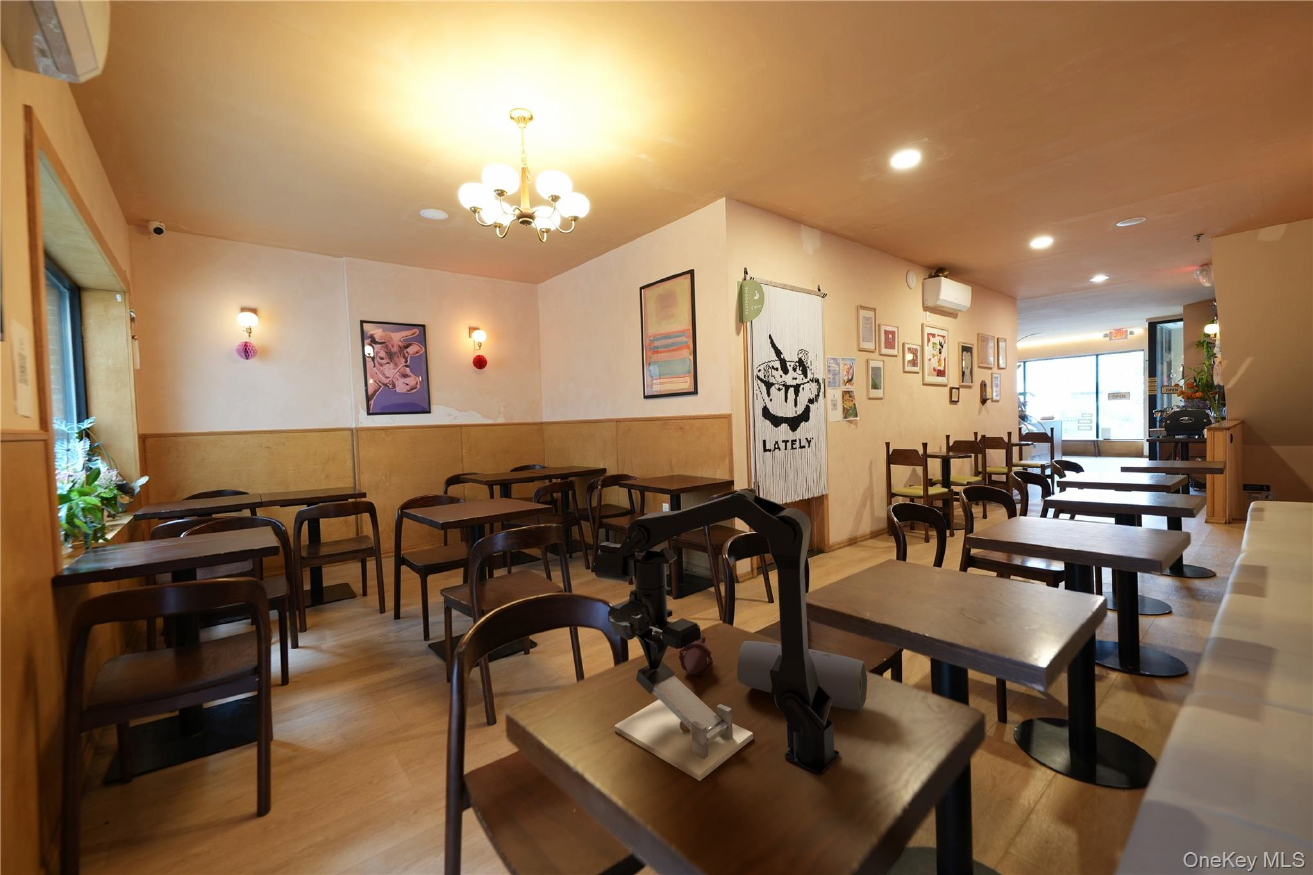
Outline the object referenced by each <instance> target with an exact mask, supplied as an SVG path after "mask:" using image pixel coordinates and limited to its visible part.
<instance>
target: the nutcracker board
mask: <svg viewBox="0 0 1313 875" xmlns="http://www.w3.org/2000/svg"><path fill="white" fill-rule="evenodd" d="M732 711H733V710H732V708H731V707H729V706H726V705H724V704H721V703H719V704H718V705H716V715H718V716H719V717H720V718H721V719H722V720H723V721H724V722H725V723H726V724H727V728H726V731H725V732H724V733H723V734H721V735H720V736H718V737H717V738H716V739H714V740H713V741H712V742H710V743H709V744H708V745H707V728H706V726H705V725H703V724H701V723H699V722H697V721H694V722H693V723H691V730H690V729H689V728H688V727H687V726H686V725H685V724H684V723H683V722H682V721H681V720H680V719H679V718H678V717H677V716H676V715H675V714H674V713H673V712H672V711H671V710H670V709H669V708H668V707H667V706H666V705H664V704H663V703H662V702H661V701H660V700H659V699H657V700H655V701H654V702H652V703H650V704H649V705H647V706H645V707H644V708H642V709H640V710H639V711H637V712H635V713H633V714H632V715H630V716H628V717H627V718H624V719H623V720H621V721H620V722H618V723H616V724H615V725H614V728H613V729H614V732H616V733H617V734H620V735H621V736H623V737H624V738H625V739H628V740H629V741H632V742H633V743H635V744H636V745H638V746H640V747H641V748H643V749H645V750H647V751H648V752H650V753H652V754H653V755H655V756H656V757H658V758H660V759H661V760H663V761H665V762H666V763H668V764H671V765H672V766H673V767H675V768H676V769H679V770H680V771H682V772H684V773H685V774H687V775H689V776H691V777H692V778H694V779H695V780H697V781H699V782H701V781H702V780H703V779H705V778H706V777H707V776H708V775H710V774H711V773H712V772H713V771H714V770H715V769H717V768H718V767H719V766H720V765H722V764H723V763H725V762H726V761H727V760H728V759H729V758H731V757H733V755H734V754H736V753H737V752H738V751H740V750H741V749H742V748H743V747H745V745H747V744H748V743H749V742H751V741H752V740H753V739H754V732H752V731H749V730H748V729H746V728H743V727H742V726H741V727H740V725H739V726H738V725H737V724H735V723H733V712H732Z"/></svg>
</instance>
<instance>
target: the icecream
mask: <svg viewBox="0 0 1313 875" xmlns="http://www.w3.org/2000/svg"><path fill="white" fill-rule="evenodd" d="M706 638H707V637H706V636H705V635H703V634H701V639H699V640H697V641H695V642H693V643H691V644H689V645H687V646H685V647H683V648H681V649H679V652H678V654H679V655H678V659H679V662H680V666H681V668H682V669H683V671H685V672H686V673H688V674H689V675H691V676H704V675H706V674H707V673H708V671H709V670H710V669H712V668H713V664H714V661H713V657H712V651H711V650H710V649H709V648H708V647H707V645H706V644H705V643H706Z"/></svg>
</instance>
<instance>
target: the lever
mask: <svg viewBox="0 0 1313 875" xmlns="http://www.w3.org/2000/svg"><path fill="white" fill-rule="evenodd" d="M675 675H676V674H675V671H674V670H673V669H671V667H669V665H667V664H666V662H664V661H663V660H662V661H661V663H660V666H659V668H658V669H656V670H654V669H653V668H650V667H649V665H648V664H647V665H645V666H644V667H642V668H639V669H638V670H637V672H636V677H635V681H636V682H637V683H638V684H639V685H640V686H641V687H642V688H643V689H644V690H646V692H647V693H649V695H652V694H653V695H654V696H655V697H656V698H657V700H660V701H661V702H662V703H663V704H664V705H666V706H667V707H668V708H669V709H670V710H671V711H672V712H673V713H674V714H675V715H676V716H677V717H678V718H679V719H680V720H681V721H682V722H683V723H684V724H685V725H686V726H687V727H688V728H689V729H690V730H691V723H693V722H694V721H697V722H699V723H701V724H703V725H705V726H706V728H707V745H708V744H709V743H710V742H712V741H713V740H714V739H716V738H717V737H718V736H720V735H721V734H723V733H724V732H725V731H726V728H727V724H726V723H725V722H724V721H723V720H722V719H721V718H720V717H719V716H718V715H717V713H716V712H714V711H713V710H712V709H711V708H710V707H709V706H708V705H707V704H706V703H705V702H703V700H701V699H700V698H699V697H698V696H697V695H696V694H695V693H694V692H693V691H692V690H691V689H690V688H689V687H687V686H686V684H684V683H683V682H682V681H681V680H680V679H678V677H677V676H675Z"/></svg>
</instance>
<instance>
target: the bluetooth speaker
mask: <svg viewBox="0 0 1313 875" xmlns="http://www.w3.org/2000/svg"><path fill="white" fill-rule="evenodd" d="M808 650H809V654H810V656H811V658H812V660H813V663H814V666H815V670H816V674H817V679H818V683H819V684H820V685H821V686H822V687H823V688H824V689H825V690H826V691H827V692H828V694H829V695H830V696H831V697H832V698H833V701H832V704H831V707H834V708H835V707H836V708H841V709H845V710H846V709H847V710H854V711H855V710H856V711H863V708H864V706H865V703H866V700H867V693H868V692H867V691H868V674H867V670H866V661H865V660H860V659H857V658H853V657H849V656H845V655H841V654H835V653H831V652H827V651H826V652H825V651H821V650H816V649H810V648H808ZM778 655H782V654H781V643H780V644H779V643H774V642H773V643H772V642H765V641H758V640H757V641H756V640H755V641H754V640H744V641H743V642H742V644H741V645H740V648H739V653H738V657H737V658H738V659H737V668H736V676H737V680H738V682H739V684H741V685H744V686H746V687H748V688H752V689H756V690H759V691H763V692H766V693H769V694H770V693H771V690H772V682H771V678H770V669H771V667H772V665H773V664H774V662H775V660H776V658H777V656H778Z"/></svg>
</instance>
